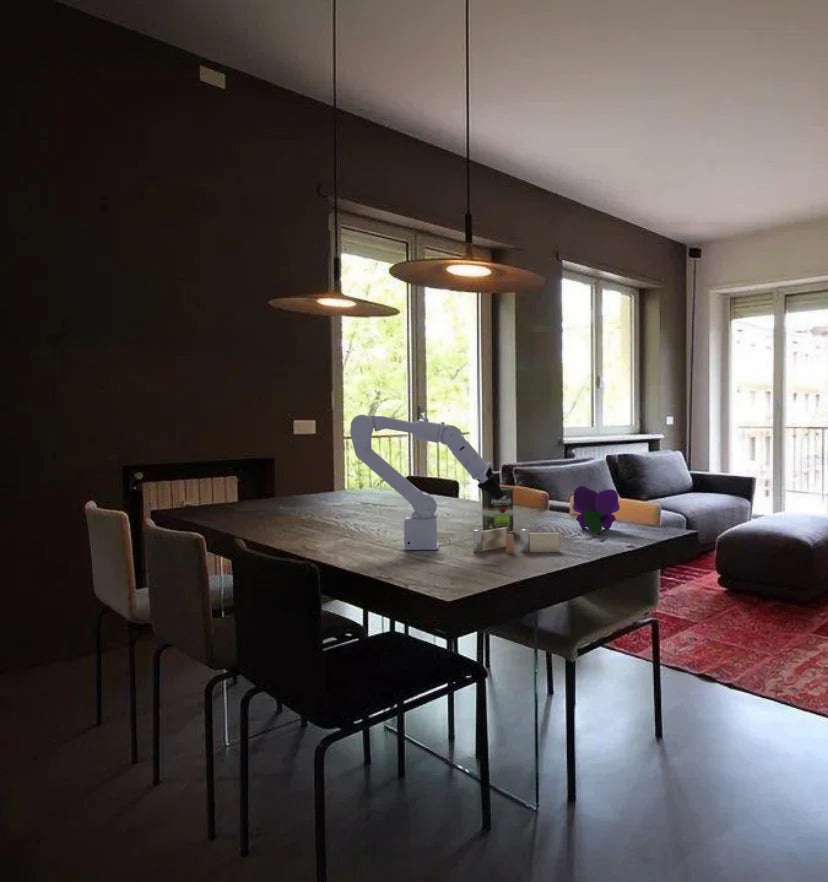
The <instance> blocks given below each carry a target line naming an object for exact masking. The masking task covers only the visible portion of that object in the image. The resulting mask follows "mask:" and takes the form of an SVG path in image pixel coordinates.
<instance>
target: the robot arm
mask: <svg viewBox="0 0 828 882" xmlns="http://www.w3.org/2000/svg"><path fill="white" fill-rule="evenodd" d="M382 430H391V431H397V432H403V433H410V434H412V435H413V436H414V438H415V440H421V441H424V442H425V441H426V442H430V443H431V442H432V443H435V444H436V443H437V444H438V443H440V444H443V445H445V446H446V447H447V449H449V450H450V451H451V454H452V455H453V457H455V459H456V460H457V461H458V462H459V464H460V465H461V466H462V467H463V469H465V470H466V472H467V473H468V474H469V475H470V476H471V479H472V480H476V481H477V482H479V483H478V484H477V487H478V489H480V490H481V489H483V490H485V491H487V492H488V493H489V494H491V495H492V496H493V497H494V498H496V499H497V500H499V499H501V498H502V497H503V496H504V495H503V493H502V491H501V488H500V487H501V486H500V484H499V482H498V480H497V479H496V478H495V474H494V473H493V469H492V467H491V466H492V465H493V463H492V462H491V461H489V462H486V461H485V460H484V459H483V458H482V456H481V455H480V454H479V453H478V452H477V451H476V449H475V448H474V447H473V446H472V445H471V443H470V442H469V441H468V440H466V438H465V436H463V434H462V431H461V429H460V428H458V427H457V426H455V425H452V424H446V423H445V422H444V421H441V422H435V421H432V420H431V421H430V420H429V418H426V417H424V418H423V419H421V418H420V419H418V420H416V421H415V422H411V421H408V420H403V419H398V418H393V417H389V416H386V415H385V416H384V415H367V414H358V415H355V417H354V418H353V419H352V420H351V423H350V430H349V431H350V433H349V434H350V437H351V442H352V446H353V449H354V454H355V456H356V457H357V459H359V460H360V461H361V462H362V463H363V464H364V465H366V466H367V467H368V468H369V469H370V470H371V471H373V472H374V473H375V474H376V475H377V476H378V477H379V478H380V479H382V480H383V481H384V482H385V483H386V484H388V485H389V487H391V488H392V489H394V491H396V492H397V493H398V494H399V495H401V496H402V497H403V498H404V499H405V500H406V501H407V502H408V503H409V504H410V505H411V507H412V508H413V509H412V510H413V512H412V513H411V516H406V517H405V516H404V519H403V530H404V531H403V534H404V536H403V543H404V549H405V550H404V551H412V550H413V551H423V550H424V551H425V550H426V551H434V550H435V551H437V550H439V546H440V542H438V525H437V523H438V521H437V519H438V517H437V514H436V511H437V506H438V505H437V502H436V499H435V498H434V497H433V496H431V495H430V493H428V492H427V491H426V492H425V491H423V490H420V489H419V488H417V487H416V486H415V485H414V484H413V483H412V482H410V481H409V480H408V478H406V477H405V476H404V475H403V474H402V473H401V472H400V471H398V470H396V468H394V467H393V466H392V465H391V464H389V462H387V460H385V459H384V458H383V457H382V456H381V455H379V454H378V453H377V452H376V451H374V450H373V448H372V447H373V446H372V445H373V444H372V435H373V434H374V433H373V432H380V431H382Z"/></svg>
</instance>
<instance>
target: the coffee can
mask: <svg viewBox="0 0 828 882" xmlns="http://www.w3.org/2000/svg"><path fill="white" fill-rule="evenodd" d="M500 488H501V491H502V493H503V495H504V496H503V497H502V498H501V499H499V500H497V499H496V498H494V497H493V496H492V495H491V494H489V493H488V492H487V491H485V490H483V489H480V491H481V531H485V530H492V529H498V528H503V527H508V528H510V534H514V488H513V487H509V486H500Z"/></svg>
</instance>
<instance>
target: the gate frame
mask: <svg viewBox="0 0 828 882" xmlns="http://www.w3.org/2000/svg"><path fill="white" fill-rule="evenodd" d="M481 531H482V529H472V552H473V553H474V552H481V553H482V552H483V550H482V533H481ZM519 532H520V534H519V535H520V537H519V538H520V540H519V541H520V552H521V553H524V552H527V553H560V533H559V532H530V529H528V528H527V529H526V528H521V529H520V530H519ZM514 536H515V535H514V533H510V534H506V546H505V551H506V553H505V554H515V548H514V547H515V542H514V540H515V538H514Z"/></svg>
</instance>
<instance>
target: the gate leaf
mask: <svg viewBox="0 0 828 882" xmlns="http://www.w3.org/2000/svg"><path fill="white" fill-rule="evenodd" d="M481 533H482V551H484V550H491V549H495V548H500V547H506V534H511V533H510V528H508V527H503V528H498V529H492V530H485V531H482V530H481Z"/></svg>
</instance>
